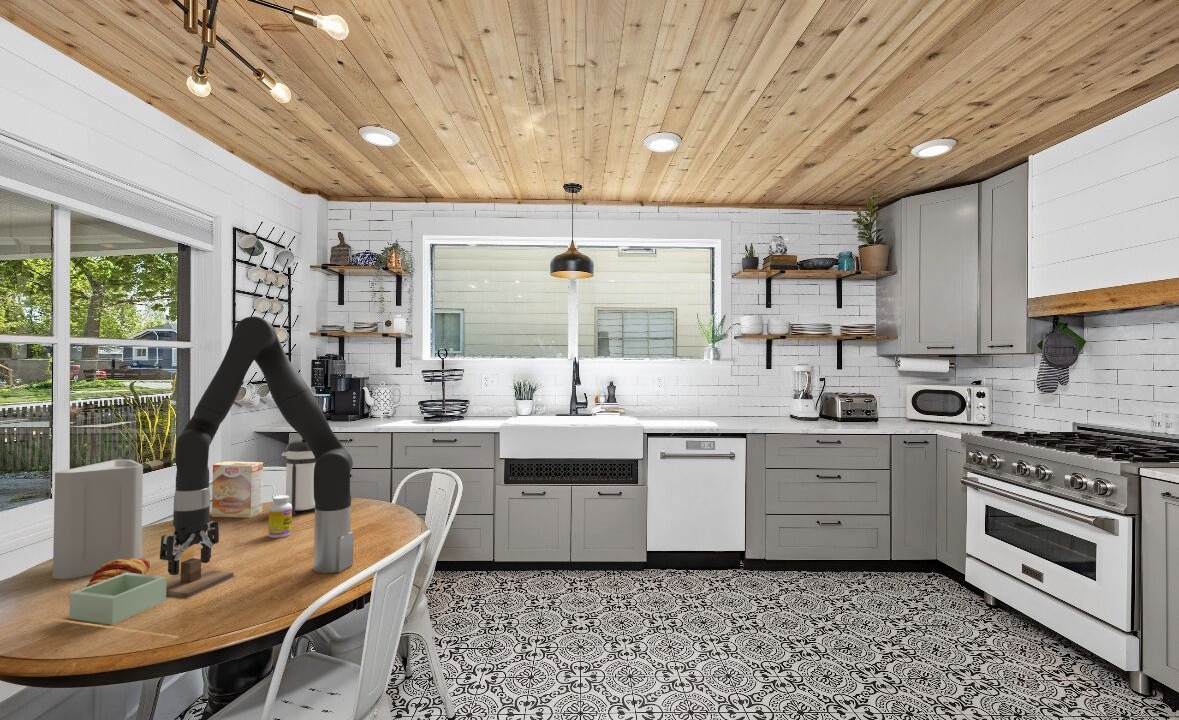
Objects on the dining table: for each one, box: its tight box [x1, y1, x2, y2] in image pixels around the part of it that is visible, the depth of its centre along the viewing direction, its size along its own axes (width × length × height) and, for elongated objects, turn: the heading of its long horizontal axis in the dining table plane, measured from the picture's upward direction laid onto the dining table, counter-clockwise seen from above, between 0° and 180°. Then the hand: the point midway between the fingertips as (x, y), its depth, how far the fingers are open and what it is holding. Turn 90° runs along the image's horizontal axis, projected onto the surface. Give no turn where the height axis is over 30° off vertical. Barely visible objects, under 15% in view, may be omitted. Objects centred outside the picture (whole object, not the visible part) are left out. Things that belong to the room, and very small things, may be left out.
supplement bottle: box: [268, 494, 293, 539], centre depth 177 cm, size 7×7×13 cm
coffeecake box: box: [211, 460, 264, 519], centre depth 199 cm, size 15×7×20 cm, turn 88°
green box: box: [69, 572, 168, 627], centre depth 123 cm, size 12×12×6 cm
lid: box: [166, 557, 235, 598], centre depth 137 cm, size 13×13×6 cm
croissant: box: [85, 557, 152, 587], centre depth 138 cm, size 21×10×8 cm, turn 8°
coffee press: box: [281, 437, 316, 517], centre depth 207 cm, size 17×16×30 cm
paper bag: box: [52, 459, 144, 580], centre depth 150 cm, size 19×15×28 cm
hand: (190, 568), depth 137 cm, fingers open, 8 cm apart
